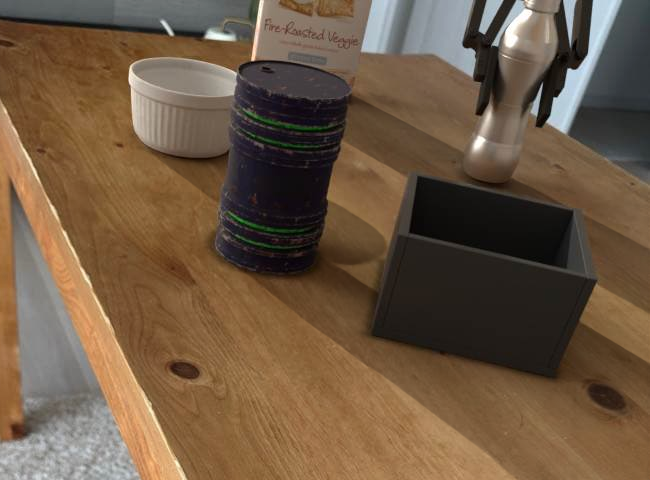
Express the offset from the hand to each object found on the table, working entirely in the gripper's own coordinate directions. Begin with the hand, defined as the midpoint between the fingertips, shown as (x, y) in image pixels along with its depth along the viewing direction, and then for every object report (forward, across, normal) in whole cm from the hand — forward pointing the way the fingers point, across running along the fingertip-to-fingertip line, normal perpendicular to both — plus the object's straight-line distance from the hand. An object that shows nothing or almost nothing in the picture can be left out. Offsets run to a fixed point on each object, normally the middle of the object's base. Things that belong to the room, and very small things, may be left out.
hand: (512, 114), depth 97 cm
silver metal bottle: (+4, 0, -9) cm, 9 cm away
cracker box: (-11, +24, -24) cm, 36 cm away
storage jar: (+26, +24, +13) cm, 37 cm away
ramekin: (+8, +36, -4) cm, 37 cm away
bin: (+29, +5, +18) cm, 35 cm away
